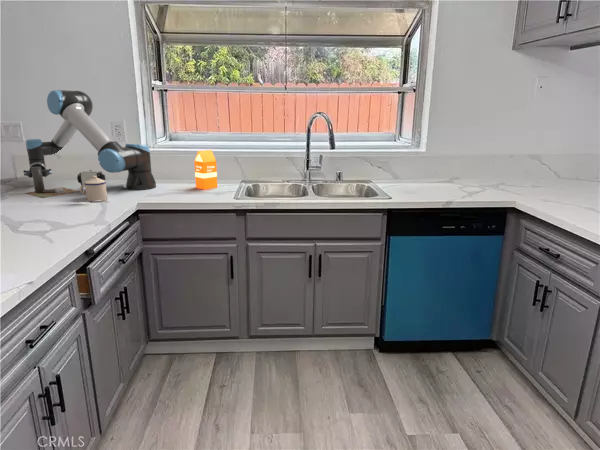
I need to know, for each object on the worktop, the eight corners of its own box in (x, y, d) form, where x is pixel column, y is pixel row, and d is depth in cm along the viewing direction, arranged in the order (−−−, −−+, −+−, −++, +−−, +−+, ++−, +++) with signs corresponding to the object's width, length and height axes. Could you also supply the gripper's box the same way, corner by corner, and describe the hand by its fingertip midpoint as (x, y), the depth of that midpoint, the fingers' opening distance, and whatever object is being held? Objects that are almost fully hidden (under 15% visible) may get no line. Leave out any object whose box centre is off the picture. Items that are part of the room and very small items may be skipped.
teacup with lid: (112, 198, 196) (109, 174, 193) (101, 203, 187) (97, 178, 184) (88, 198, 197) (84, 173, 194) (76, 202, 188) (72, 177, 185)
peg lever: (65, 191, 205) (61, 166, 201) (61, 192, 201) (57, 167, 197) (37, 191, 203) (33, 166, 200) (33, 193, 199) (29, 167, 196)
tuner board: (81, 194, 205) (81, 191, 205) (43, 200, 191) (42, 197, 190) (62, 189, 215) (61, 186, 214) (24, 195, 200) (24, 192, 200)
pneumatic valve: (103, 194, 204) (100, 170, 200) (79, 195, 203) (75, 170, 199) (108, 192, 209) (105, 169, 205) (84, 192, 208) (81, 169, 205)
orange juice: (195, 187, 224) (193, 150, 218) (208, 185, 230) (207, 149, 224) (204, 189, 219) (202, 151, 213) (217, 187, 225) (216, 150, 219)
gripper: (52, 176, 229) (54, 183, 209) (24, 177, 222) (23, 185, 203) (50, 162, 226) (51, 168, 207) (22, 164, 220) (20, 170, 201)
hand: (37, 177), depth 205 cm, fingers closed
